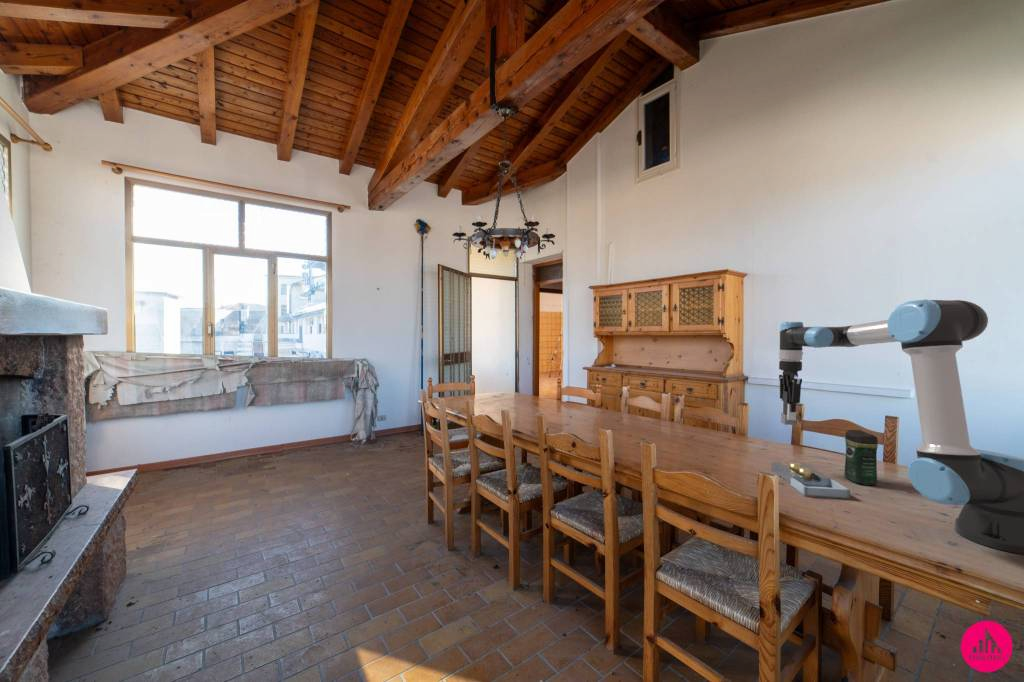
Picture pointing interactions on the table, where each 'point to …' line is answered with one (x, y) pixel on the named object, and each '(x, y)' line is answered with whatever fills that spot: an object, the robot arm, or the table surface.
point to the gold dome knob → (805, 472)
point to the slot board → (787, 474)
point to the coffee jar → (861, 457)
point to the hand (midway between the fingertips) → (789, 418)
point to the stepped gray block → (785, 409)
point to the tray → (822, 490)
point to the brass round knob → (795, 467)
